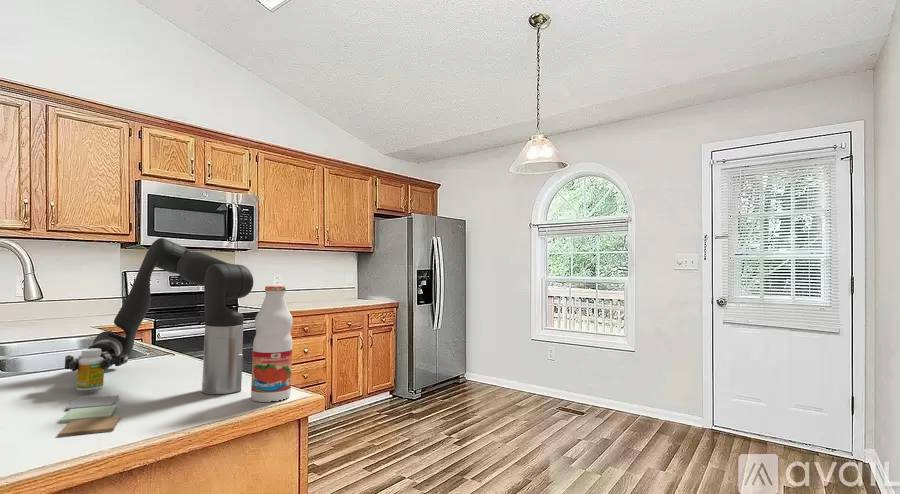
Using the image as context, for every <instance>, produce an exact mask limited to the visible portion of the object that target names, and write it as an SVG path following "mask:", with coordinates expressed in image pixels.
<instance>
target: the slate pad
mask: <svg viewBox="0 0 900 494" xmlns="http://www.w3.org/2000/svg"><path fill="white" fill-rule="evenodd" d="M119 396H120V395H119V394H118V395H117V394H116V395H108V396H107V395H105V396H95V397H94V396H93V397H81V398H75V399H74V400H72V402H70V404H69V405H68V406H67V407H66V408H65V412H68V411H69V410H70V409H77V408H89V407H100V406H112V405H116V404H115V403H116V402H117V401H118V399H119Z"/></svg>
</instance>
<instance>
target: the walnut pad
mask: <svg viewBox="0 0 900 494" xmlns="http://www.w3.org/2000/svg"><path fill="white" fill-rule="evenodd" d="M120 420H121V415H115V416H113V415H112V416H111V417H102V418H92V419H81V420H71V421H70V422H67V424H66V425H65V426H64V427H63V428H62V429H61V430H60V432H59V433H58V437H59V438H62V437H70V436H79V435H80V436H81V435H87V434H98V433H107V432H114V431H115V428H116V427H117V425H118V423H119V422H120Z"/></svg>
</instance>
